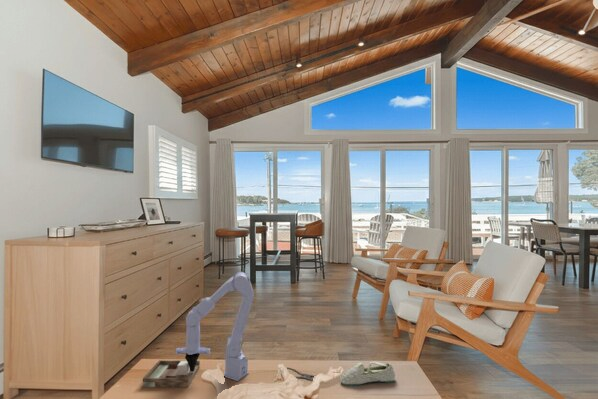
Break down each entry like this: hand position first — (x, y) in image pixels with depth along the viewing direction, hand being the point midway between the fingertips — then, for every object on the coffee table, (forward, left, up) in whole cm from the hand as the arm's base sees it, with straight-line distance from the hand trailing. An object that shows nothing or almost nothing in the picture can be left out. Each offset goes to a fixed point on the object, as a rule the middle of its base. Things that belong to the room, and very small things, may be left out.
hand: (192, 370), depth 142 cm
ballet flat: (-66, -37, -3) cm, 75 cm away
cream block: (+3, +2, -1) cm, 4 cm away
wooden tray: (+7, +4, -3) cm, 9 cm away
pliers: (-38, -26, -4) cm, 46 cm away
